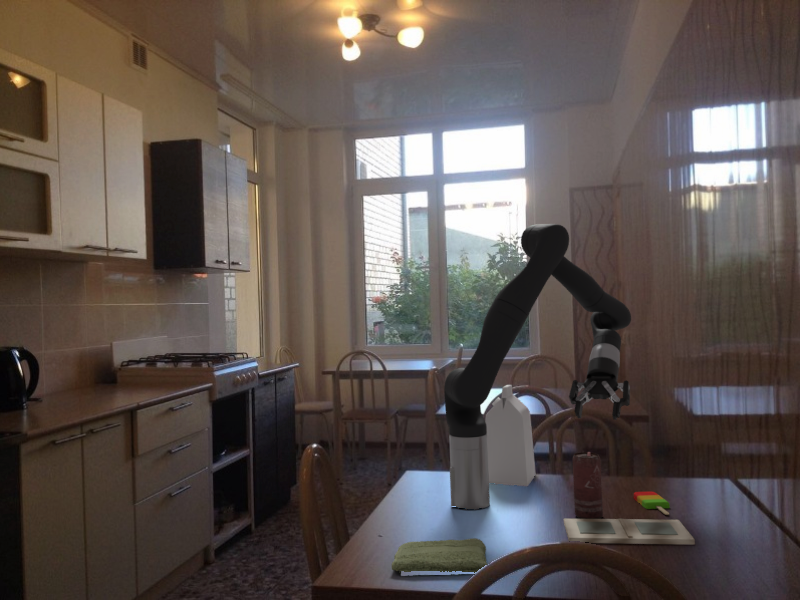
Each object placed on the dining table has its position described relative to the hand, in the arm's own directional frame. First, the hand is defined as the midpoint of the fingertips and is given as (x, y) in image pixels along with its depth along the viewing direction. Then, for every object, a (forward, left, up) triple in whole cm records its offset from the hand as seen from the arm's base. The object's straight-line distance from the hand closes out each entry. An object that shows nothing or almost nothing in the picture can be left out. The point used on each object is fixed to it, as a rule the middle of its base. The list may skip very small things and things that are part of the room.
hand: (596, 417), depth 158 cm
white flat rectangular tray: (+2, -22, -20) cm, 30 cm away
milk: (-21, +21, -21) cm, 36 cm away
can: (-4, -11, -21) cm, 24 cm away
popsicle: (+12, -3, -21) cm, 24 cm away
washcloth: (-35, -40, -21) cm, 57 cm away
